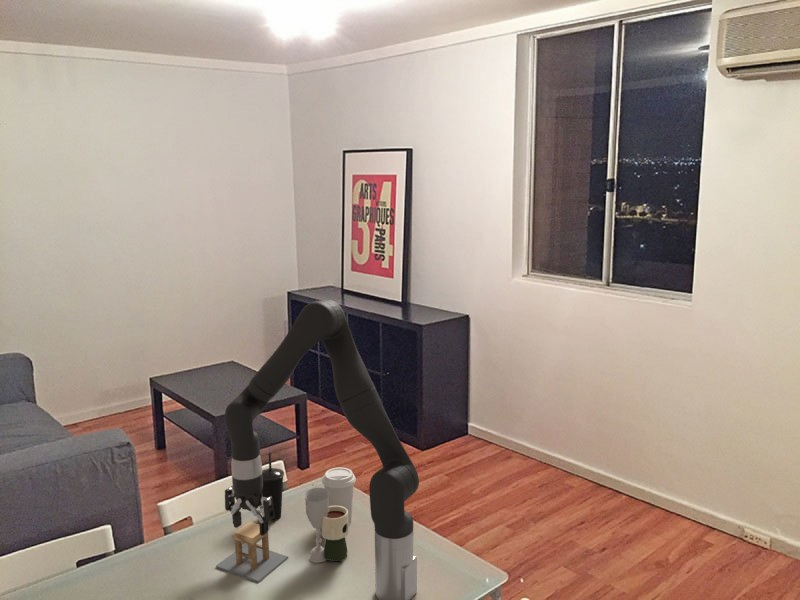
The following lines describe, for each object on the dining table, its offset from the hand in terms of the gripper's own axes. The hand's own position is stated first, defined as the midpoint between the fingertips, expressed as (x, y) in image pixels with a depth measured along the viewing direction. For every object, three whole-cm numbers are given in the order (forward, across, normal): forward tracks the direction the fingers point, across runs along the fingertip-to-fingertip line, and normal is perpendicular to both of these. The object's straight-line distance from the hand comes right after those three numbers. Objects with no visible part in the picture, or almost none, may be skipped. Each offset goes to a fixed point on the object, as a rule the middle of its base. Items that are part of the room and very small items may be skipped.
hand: (250, 530), depth 178 cm
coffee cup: (+10, -9, -28) cm, 31 cm away
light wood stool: (+9, 0, 0) cm, 9 cm away
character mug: (+10, -18, -12) cm, 24 cm away
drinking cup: (+10, +10, -21) cm, 25 cm away
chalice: (+10, -14, -10) cm, 20 cm away
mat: (+10, 0, 0) cm, 10 cm away
